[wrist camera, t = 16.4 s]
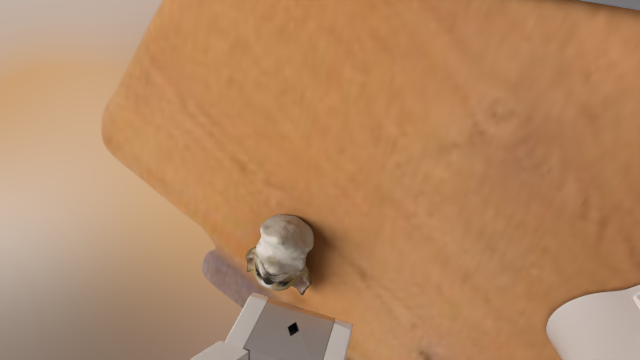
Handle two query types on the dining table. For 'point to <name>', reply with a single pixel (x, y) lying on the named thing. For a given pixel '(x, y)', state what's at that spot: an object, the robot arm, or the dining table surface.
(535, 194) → the dining table surface
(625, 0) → the grey slider track base
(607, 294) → the robot arm
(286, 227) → the ceramic sculpture
